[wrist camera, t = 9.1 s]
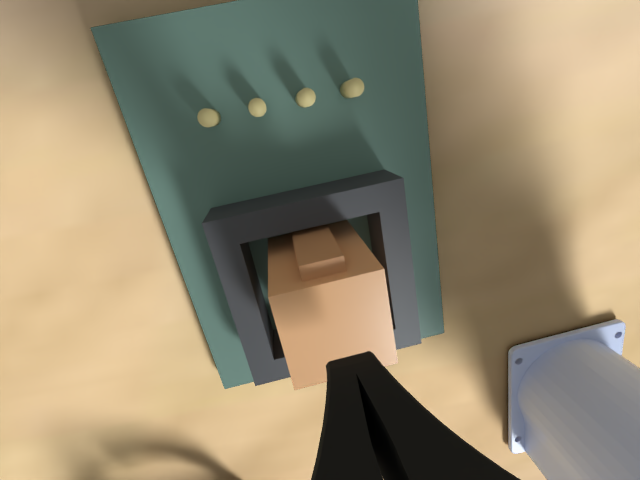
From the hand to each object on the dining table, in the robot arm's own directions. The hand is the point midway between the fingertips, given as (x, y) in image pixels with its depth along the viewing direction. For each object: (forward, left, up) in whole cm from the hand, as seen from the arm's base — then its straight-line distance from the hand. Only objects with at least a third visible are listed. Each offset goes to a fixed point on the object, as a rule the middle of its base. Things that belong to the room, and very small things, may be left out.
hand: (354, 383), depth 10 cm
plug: (0, 0, -8) cm, 8 cm away
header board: (+3, 0, -9) cm, 10 cm away
